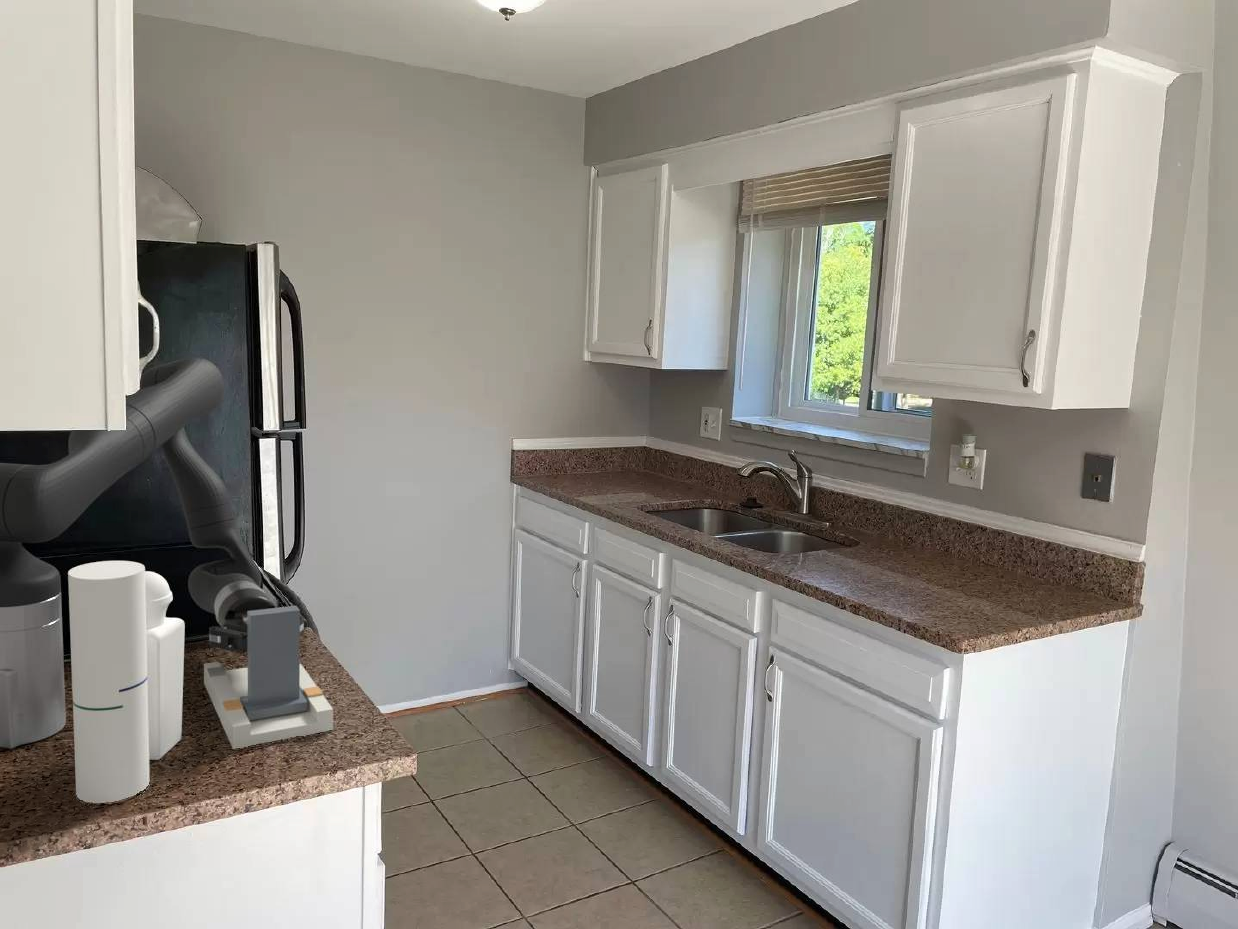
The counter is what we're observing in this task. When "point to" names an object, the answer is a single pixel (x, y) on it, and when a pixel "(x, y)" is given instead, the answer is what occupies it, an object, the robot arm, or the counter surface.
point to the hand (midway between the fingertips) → (271, 652)
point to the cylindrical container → (109, 679)
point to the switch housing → (245, 733)
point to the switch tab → (273, 663)
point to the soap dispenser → (163, 667)
